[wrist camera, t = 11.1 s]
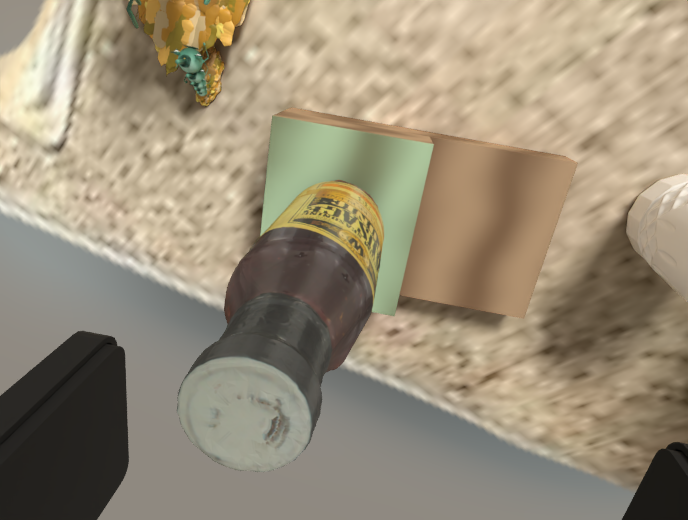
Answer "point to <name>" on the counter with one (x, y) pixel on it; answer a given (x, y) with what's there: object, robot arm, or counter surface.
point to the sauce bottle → (285, 329)
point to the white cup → (663, 230)
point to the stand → (430, 205)
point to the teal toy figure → (191, 37)
